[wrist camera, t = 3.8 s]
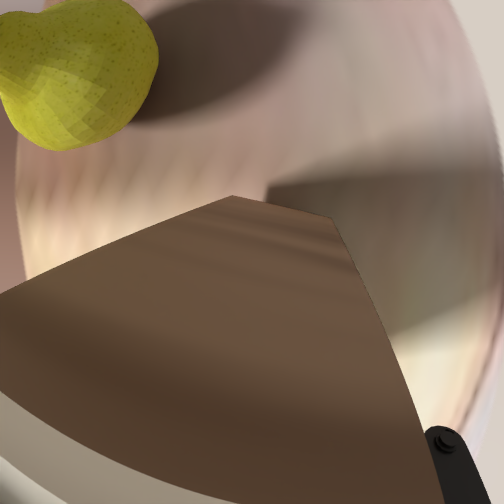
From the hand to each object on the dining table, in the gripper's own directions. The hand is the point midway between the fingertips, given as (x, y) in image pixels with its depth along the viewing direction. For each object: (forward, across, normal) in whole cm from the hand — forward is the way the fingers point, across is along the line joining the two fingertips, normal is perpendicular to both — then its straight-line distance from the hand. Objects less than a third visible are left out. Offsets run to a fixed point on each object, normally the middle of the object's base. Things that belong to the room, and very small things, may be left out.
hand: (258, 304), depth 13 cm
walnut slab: (0, 0, 0) cm, 0 cm away
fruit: (+2, -9, +8) cm, 12 cm away
